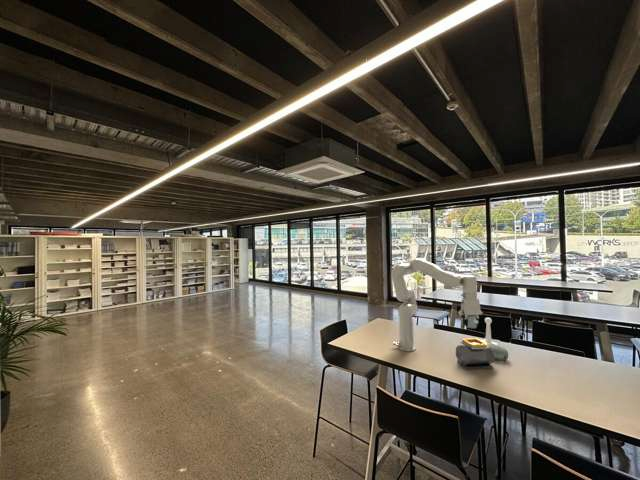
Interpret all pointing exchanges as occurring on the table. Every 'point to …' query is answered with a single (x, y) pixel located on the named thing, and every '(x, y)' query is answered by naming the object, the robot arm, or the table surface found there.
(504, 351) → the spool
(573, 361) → the table surface
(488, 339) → the joystick
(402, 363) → the table surface
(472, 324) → the pump
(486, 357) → the motor
